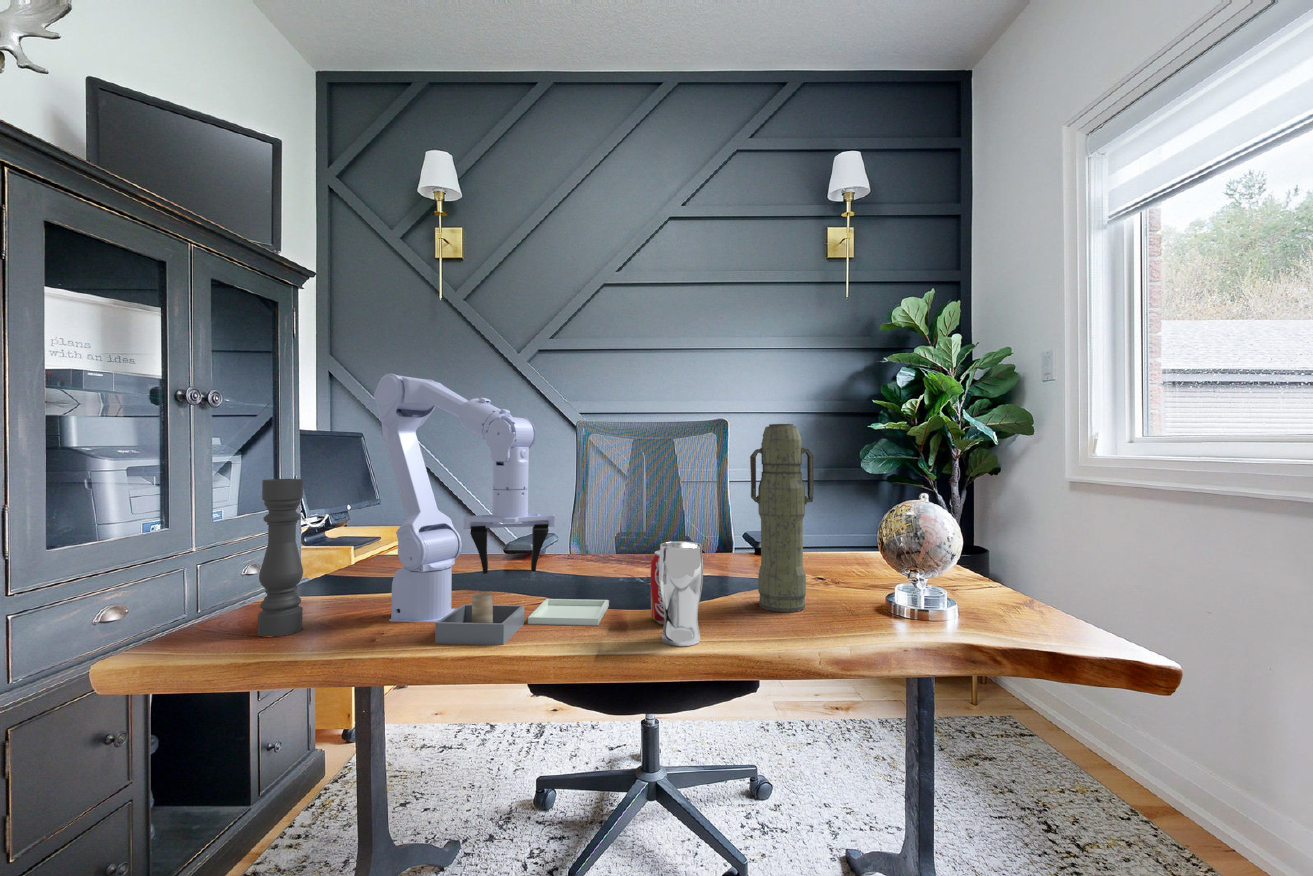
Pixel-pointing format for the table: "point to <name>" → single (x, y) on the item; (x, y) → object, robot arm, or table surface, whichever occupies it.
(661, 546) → the beer glass
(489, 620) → the birch pin
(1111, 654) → the table surface
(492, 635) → the charcoal bin
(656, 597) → the soda can
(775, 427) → the thermos
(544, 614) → the sage tray
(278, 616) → the candle holder
